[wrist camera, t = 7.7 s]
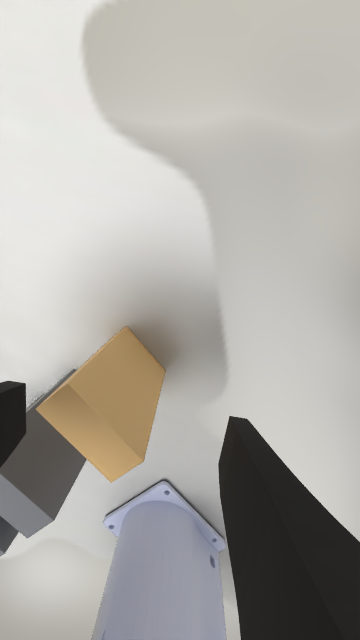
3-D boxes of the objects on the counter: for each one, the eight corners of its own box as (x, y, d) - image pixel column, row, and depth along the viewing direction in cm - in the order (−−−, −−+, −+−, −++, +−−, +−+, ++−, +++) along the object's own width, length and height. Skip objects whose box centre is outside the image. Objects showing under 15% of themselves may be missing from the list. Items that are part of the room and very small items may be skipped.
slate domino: (113, 409, 20) (53, 520, 12) (96, 421, 21) (27, 538, 12) (74, 368, 20) (-21, 454, 11) (57, 382, 20) (-47, 476, 11)
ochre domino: (165, 370, 19) (143, 461, 10) (147, 384, 20) (111, 482, 11) (126, 326, 18) (67, 383, 10) (107, 341, 19) (35, 409, 10)
